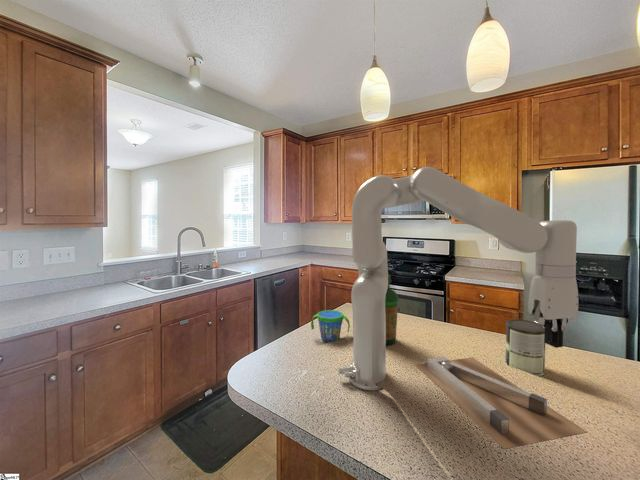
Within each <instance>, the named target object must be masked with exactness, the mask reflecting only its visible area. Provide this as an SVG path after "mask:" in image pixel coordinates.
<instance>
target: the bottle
mask: <svg viewBox="0 0 640 480" xmlns="http://www.w3.org/2000/svg"><path fill="white" fill-rule="evenodd" d="M391 283H392V279H391V275H390V274H388V289H387V292H386V296H385V316H386V347H387V346H392V345H395V344H396V341H397V325H398V310H399V295H398V293H397V292H396V291H395V290H393V289H391V288H390V286H391Z"/></svg>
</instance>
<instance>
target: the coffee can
mask: <svg viewBox="0 0 640 480" xmlns="http://www.w3.org/2000/svg"><path fill="white" fill-rule="evenodd" d="M505 326H506V333H505V336H506V338H505V362H504V363H505V365H506V366H508V367H511V368H514V369H517V370H520V371H523V372H525V373H528V374H531V375H534V376H536V377H542V376H544V375H545V373H546V370H545V367H546V345H547V344H546V343H545V342H544V339H545V328H543V326H542V324H538V323H535V322H534V321H532V320H529V319H528V320H527V319H519V318H514V319H512V318H511V319H508V320H506V322H505Z"/></svg>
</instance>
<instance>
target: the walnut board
mask: <svg viewBox="0 0 640 480" xmlns="http://www.w3.org/2000/svg"><path fill="white" fill-rule="evenodd" d="M448 360H449V363H451V362H454V363H456V364H459V365H461V366H464V367H466V368H469V369H471V370H474V371H476V372H479V373H481V374H484V375H486V376H488V377H491V378H493V379H496V380H498V381H501V382H503V383H506V384H508V385H511V386H513V387H516V388H518V389H521V390H523V391H525V390H524V389H522V388H520V387H519V386H517V385H516V384H514V383H512V381H510V380H508V379H506V377H503V376H502V375H501V374H499V373H497V372H496V371H494V369H493V370H492V369H491V368H490V367H488V366H486V365H485V364H483V363H482V362H480V361H479V360H477V359H476V358H474V357H467V358H458V359H448ZM415 367H416V368H417V369H419V370H420V371H421V373H423V374H424V375H425V376H426V377H427V378H428V379H429V380H430V381H432V383H434V385H435V386H437V387H438V388H439V390H441V391H442V392H443V393H444V394H445V395H446V396H447V397H448V398H449V399H450V400H451V401H453V402H454V403H455V404H456V405H457V406H458V408H460V409H461V410H462V411H463V412H464V413H465V414H466V415H467V416H468V417H469V418H471V419H472V421H473V422H475V423H476V424H477V425H478V426H479V427H480V428H481V429H482V430H483V431H484V432H485V433H486V434H488V435H489V437H490V438H491V439H493V440H494V441H495V443H497V445H499V447H501V448H502V449H504V450H507V449H511V448H517V447H521V446H526V445H531V444H536V443H541V442H547V441H552V440H557V439H561V438H567V437H571V436H577V435H581V434H586V433H588V431H587V430H585V429H584V428H582V427H580V426H579V425H577V424H576V423H574V422H573V421H572V420H570V419H568V418H567V417H565V416H564V415H562V414H561V413H559V412H557V411H556V410H554V409H553V408H551V407H549V405H547V413H546V414H545V415H544V416H543V415H541V414H539V413H536V412H534V411H532V410H530V409H528V408H526V407H523V406H521V405H519V404H517V403H514V402H512V401H510V400H508V399H505V398H503V397H501V396H499V395H496V394H494V393H492V392H490V391H487V390H485V389H483V388H481V387H478V386H476V385H474V384H472V383H469V382H467V381H465V380H463V379H460V378H458V377H457V378H458V379H459V380H460V381H462V382H463V383H464V384H465V385H466V386H468V387H469V388H470V389H471V390H473V391H474V392H475V393H476V394H478V395H479V396H480V397H481V398H483V399H484V400H485V401H486V402H488V403H489V404H490V405H491V406H493V407H494V408H495V409H496V410H497V409H498V410H499V411H500V412H502V413H503V414H504V415H505V416H507V417H508V418H509V433H505V434H500V433H499V432H498V431H496V430H495V429H494V428H493V427H492V426H491V425H490V424H489V423H488V422H487V421H486V420H485V419H484V418H482V417H481V416H480V415H479V414H478V413H477V412H476V411H475V410H473V409H472V408H471V407H470V406H469V405H468V404H467V403H466V402H465V401H463V400H462V399H461V398H460V397H459V396H458V395H457V394H456V393H454V392H453V391H452V390H451V389H450V388H449V387H448V386H447V385H445V384H444V383H443V382H442V381H441V380H440V379H439V378H438V377H437V376H435V375H434V374H433V373H432V372H431V371H430V370H429V369H428V362H426V363H417V364H415ZM455 377H456V376H455Z"/></svg>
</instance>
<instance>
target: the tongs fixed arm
mask: <svg viewBox="0 0 640 480" xmlns="http://www.w3.org/2000/svg"><path fill="white" fill-rule="evenodd" d="M449 360H450V359H448V358H447V357H445V356H441V357H433V358H427V363H428V369H429V370H430V371H431V372H432V373H433V374H434V375H435V376H437V377H438V378H439V379H440V380H441V381H442V382H443V383H444V384H445V385H447V386H448V387H449V388H450V389H451V390H452V391H453V392H454V393H456V394H457V395H458V396H459V397H460V398H461V399H462V400H463V401H465V402H466V403H467V404H468V405H469V406H470V407H471V408H472V409H473V410H475V411H476V412H477V413H478V414H479V415H480V416H481V417H482V418H484V419H485V420H486V421H487V422H488V423H489V424H490V425H491V426H492V427H493V428H494V429H495V430H496V431H498V432H499V433H500V434H505V433H509V418H508V417H507V416H505V415H504V414H503V413H502V412H500V411H499V410H498V409H497V410H496V409H495V408H494V407H493V406H491V405H490V404H489V403H488V402H486V401H485V400H484V399H483V398H481V397H480V396H479V395H478V394H476V393H475V392H474V391H473V390H471V389H470V388H469V387H468V386H466V385H465V384H464V383H463V382H462V381H460V380H459V379H458V378H457V377H455V376H454V375H453V374H452V373H450V372H449V371H448V370H447V369H445V368H444V367H443V366H442V365H441V362H442V361H447V362H449Z"/></svg>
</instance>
